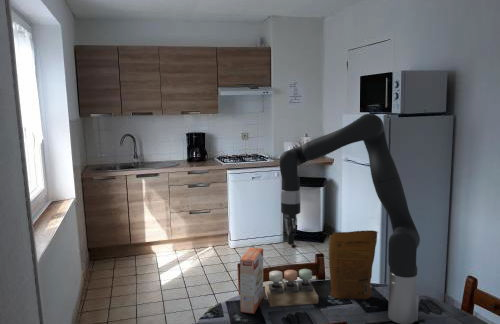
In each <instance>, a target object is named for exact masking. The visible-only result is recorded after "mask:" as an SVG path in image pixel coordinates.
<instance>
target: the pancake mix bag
mask: <svg viewBox="0 0 500 324" xmlns="http://www.w3.org/2000/svg"><path fill="white" fill-rule="evenodd" d="M377 241H378V231H376V230H355V231H354V230H353V231H340V232H337V231H336V232H332V234H329V237H328V266H329V268H328V269H329V279H330V287H331V290H330V294H329V295H330V297H333V298H334V299H340V300H367V299H370V298H371V297H372V289H371V281H372V275H373V266H374V260H375V256H376V255H375V254H376V246H377Z"/></svg>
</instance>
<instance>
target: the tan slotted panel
mask: <svg viewBox="0 0 500 324" xmlns="http://www.w3.org/2000/svg"><path fill="white" fill-rule="evenodd" d="M264 292H265V296H266V298H267V301H268V304H269V307H284V306H285V307H286V306H287V307H288V306H295V305H296V306H299V305H311V304H319V294H318V293H317V292H316V289H315V288H314V285H313V284H312V282H311V281H310V280H308V284H303V280H302V281H297V282H296V281H294V284H293V285H289V284H288V281H287V282H279V285H278V286H274V285H273V282H272V283H268V284H265V285H264Z"/></svg>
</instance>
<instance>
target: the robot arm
mask: <svg viewBox="0 0 500 324" xmlns="http://www.w3.org/2000/svg"><path fill="white" fill-rule="evenodd" d="M358 142H363V144H364V145H365V146H364V147H365V149H366V151H367V156H368V160H369V168H370V175H371V179H372V183H373V187H374V191H375V192H376V193H375V194H376V195H377V198H378V200H379V202H380V203H381V205H382V206H383V207H384V209H385V211H386V212H387V215H388V218H389V221H390V224H391V225H390V226H391V229H392V234H391V235H390V236H389V239H388V260H387V261H388V266H389V270H388V271H389V275H388V278H389V279H388V302H387V303H388V306H387V307H388V308H387V317H388V319H389V320H390V321H392V322H394V323H397V324H413V323H415V322H418V321H419V319H418V317H419V303H420V302H419V300H420V296H419V295H418V293H417V292H418V291H417V290H418V289H417V288H418V266H417V251H418V250H417V249H418V247H419V245H420V241H421V239H420V234H419V232H418V229H417V227H416V225H415V222H414V221H413V217H412V216H411V213H410V210H409V207H408V201H407V198H406V195H405V192H404V187H403V183H402V181H401V177H400V174H399V171H398V169H397V166H396V164H395V161H394V158H393V156H392V154H391V151H390V149H389V146H388V143H387V137H386V132H385V126H384V121H383V120H382V119H381V117H380V116H379V115H377V114H374V113H365V114H363V115H361V116H360V117H359V118H357V119H355V120H353V121H352V122H350V123H349V124H348V125H345V126H344V127H341V128H339V129H337V130H335V131H333V132H330V133H327V134H324V135H322V136H318V137H317V138H314V139H312V140H309V141H308V142H305V143H304V144H302V145H299V146H296V147H294V148H290V149H289V150H285V151H283V152H282V154H280V156H279V172H280V176H281V194H280V212H281V214H283V215H285V216H284V218H283V219H284V223H285V230H286V234H287V243H288V246H289V245H294V244H295V236H296V235H297V229H298V224H297V222H298V221H297V220H298V219H297V218H296V215H299V214H300V213H301V181H300V176H299V175H298V167H299V166H301V165H303V164H305V163H307V162H309V161H313V160H316V159H319V158H321V157H324V156H327V155H329V154H331V153H333V152H335V151H337V150H339V149H341V148H344V147H345V146H348V145H351V144H355V143H358Z"/></svg>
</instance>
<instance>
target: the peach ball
mask: <svg viewBox="0 0 500 324" xmlns="http://www.w3.org/2000/svg"><path fill="white" fill-rule="evenodd" d="M283 274H284V275H283V276H284V280H285V281H287V282H288V284H289V285H293V284H294V282H296V281H297V280H298V271H296V270H294V269H287V270H284V272H283Z"/></svg>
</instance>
